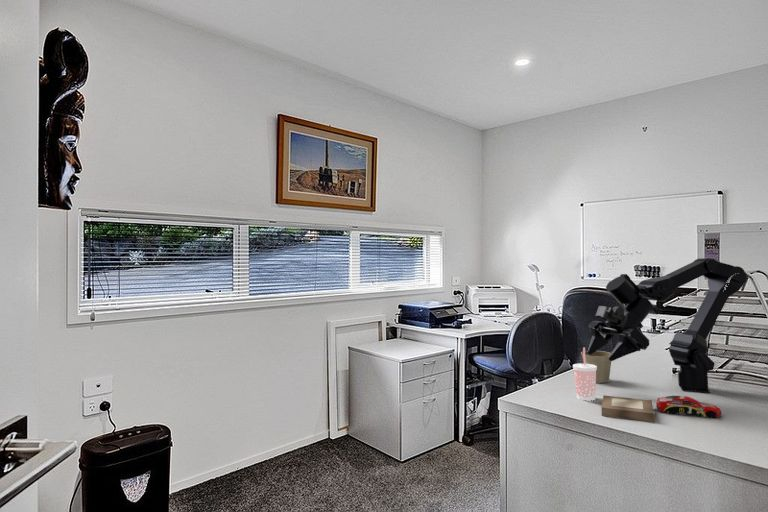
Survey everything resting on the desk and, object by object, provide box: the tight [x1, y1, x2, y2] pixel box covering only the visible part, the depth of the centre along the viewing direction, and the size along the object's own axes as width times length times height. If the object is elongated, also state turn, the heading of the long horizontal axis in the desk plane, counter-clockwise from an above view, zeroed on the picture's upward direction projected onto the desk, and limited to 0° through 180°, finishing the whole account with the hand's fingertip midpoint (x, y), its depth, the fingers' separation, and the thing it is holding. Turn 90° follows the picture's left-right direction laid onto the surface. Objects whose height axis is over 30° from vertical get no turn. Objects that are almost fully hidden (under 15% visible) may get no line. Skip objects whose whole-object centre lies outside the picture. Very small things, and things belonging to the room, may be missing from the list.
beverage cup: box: [572, 346, 597, 402], centre depth 123 cm, size 6×6×14 cm
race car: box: [655, 395, 722, 419], centre depth 109 cm, size 13×5×4 cm, turn 63°
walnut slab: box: [601, 395, 655, 423], centre depth 111 cm, size 11×11×2 cm
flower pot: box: [580, 350, 612, 384], centre depth 140 cm, size 9×9×9 cm
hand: (598, 356), depth 124 cm, fingers open, 9 cm apart
